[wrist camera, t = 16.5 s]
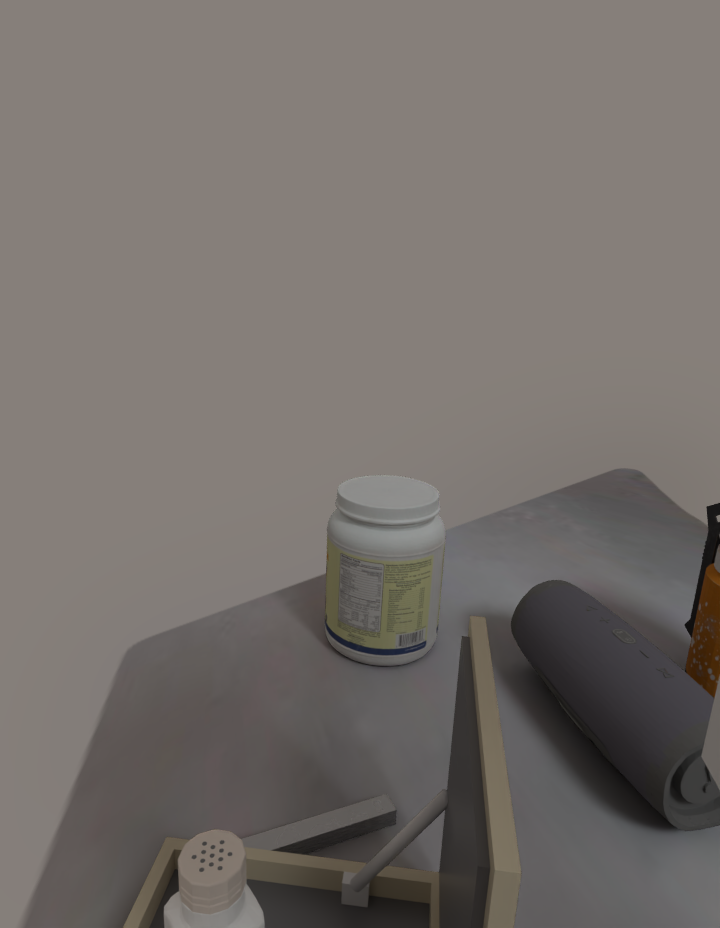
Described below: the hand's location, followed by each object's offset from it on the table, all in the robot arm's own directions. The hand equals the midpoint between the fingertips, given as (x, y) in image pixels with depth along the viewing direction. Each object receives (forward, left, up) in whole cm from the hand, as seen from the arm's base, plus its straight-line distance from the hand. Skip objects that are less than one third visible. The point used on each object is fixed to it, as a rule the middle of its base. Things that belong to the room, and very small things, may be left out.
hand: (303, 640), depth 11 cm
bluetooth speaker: (-39, -22, -32) cm, 55 cm away
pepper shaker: (-3, -16, -31) cm, 35 cm away
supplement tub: (-29, -44, -32) cm, 62 cm away
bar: (-12, -24, -32) cm, 42 cm away
